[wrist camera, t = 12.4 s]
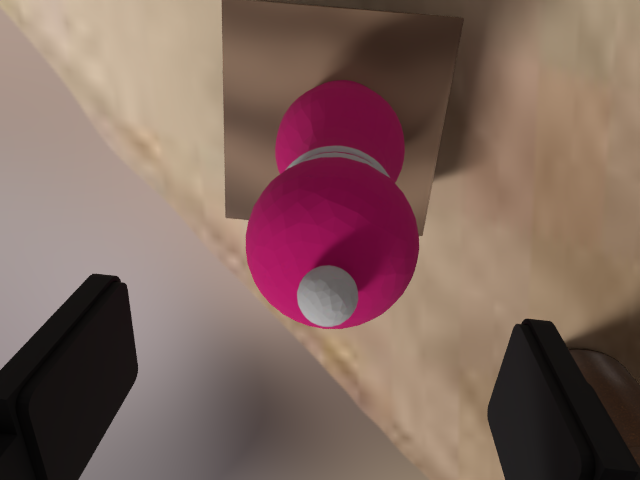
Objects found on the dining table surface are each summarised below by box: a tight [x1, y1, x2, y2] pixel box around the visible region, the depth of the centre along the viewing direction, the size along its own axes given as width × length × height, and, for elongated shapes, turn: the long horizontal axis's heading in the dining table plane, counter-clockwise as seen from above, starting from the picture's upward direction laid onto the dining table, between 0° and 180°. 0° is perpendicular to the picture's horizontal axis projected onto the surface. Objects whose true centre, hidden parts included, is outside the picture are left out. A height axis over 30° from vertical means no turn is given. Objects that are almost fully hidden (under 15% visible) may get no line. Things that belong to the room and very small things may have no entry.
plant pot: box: [569, 349, 640, 467], centre depth 41 cm, size 16×16×16 cm
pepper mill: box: [246, 80, 419, 329], centre depth 22 cm, size 7×7×20 cm
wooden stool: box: [222, 0, 464, 236], centre depth 34 cm, size 14×14×6 cm
